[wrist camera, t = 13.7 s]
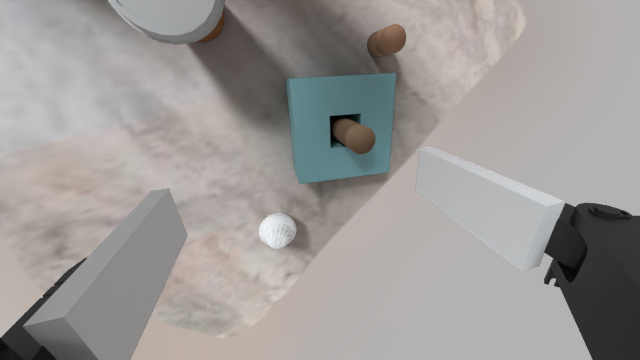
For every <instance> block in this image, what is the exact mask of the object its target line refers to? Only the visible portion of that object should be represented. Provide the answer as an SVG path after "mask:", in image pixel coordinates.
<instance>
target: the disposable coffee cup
mask: <svg viewBox="0 0 640 360" xmlns="http://www.w3.org/2000/svg"><path fill="white" fill-rule="evenodd" d="M108 1H109V3H110V4H111V5H112V7H113V8H114V9H115V11H116V12H117V13H118V14H119V15H120V16H121V17H122V18H123V19H124V20H125V21H126V22H127V23H128V24H129V25H131V26H132V27H133V28H134V29H136V30H137V31H139V32H140V33H142V34H144V35H146V36H147V37H150V38H152V39H154V40H157V41H159V42H164V43H170V44H188V43H193V42H196V41H198V42H206V41H210V40H212V39H214V38H216V37H217V36H218V35H219V33H220V32H221V30H222V27H223V24H224V12H223V8H224V3H225V0H108Z"/></svg>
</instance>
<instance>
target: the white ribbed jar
mask: <svg viewBox="0 0 640 360" xmlns="http://www.w3.org/2000/svg"><path fill="white" fill-rule="evenodd" d="M295 235H296V224H295V222H294V221H293V219H292V218H291V217H289V216H288V215H286V214H284V213H280V212H276V213H272V214H270V215H269V216H267V217H266V218H265V219H264V221H263V222H262V223H261V225H260V228H259V236H260V238H261V240H262V241H263V242H264V243H265V244H267V245H269V246H271V247H272V248H274V249H275V248H276V249H279V248H280V249H282V247H285V246H286V245H288V244H289V243H290V242H291V241H292V240H293V239H294V237H295Z"/></svg>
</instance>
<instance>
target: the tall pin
mask: <svg viewBox="0 0 640 360" xmlns="http://www.w3.org/2000/svg"><path fill="white" fill-rule="evenodd" d="M330 134H331V135H332V136H334V137H335V138H336V139H338V140H339V141H340V142H342V143H343V144H344V145H345V146H347V147H348V148H349V149H351V150H352V151H353V152H355V153H357V154H365V153H368V152H369V151H370V150H371V149H372V148H373V146H374V144H375V140H376V137H375V134H374V132H373V130H372V129H370V128H368V127H366V126H364V125H361V124H359V123H357V122H354V121H352V120H350V119H347V118H345V117H343V116H340V115H336V116H330Z"/></svg>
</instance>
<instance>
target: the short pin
mask: <svg viewBox="0 0 640 360" xmlns="http://www.w3.org/2000/svg"><path fill="white" fill-rule="evenodd" d="M405 41H406V33H405V30H404V29H403V27H402V26H400V25H398V24H393V25H391V26H389V27H386V28H384V29H382V30H380V31H377V32H375V33H373V34H372V35H371V36H370V37H369V39H368V43H367V47H368V51H369V53H370V54H371V55H373V56H375V57H379V56H383V55H388V54H392V53H396V52H398V51H400V50H401V49H402V48H403V46H404V44H405Z"/></svg>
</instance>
